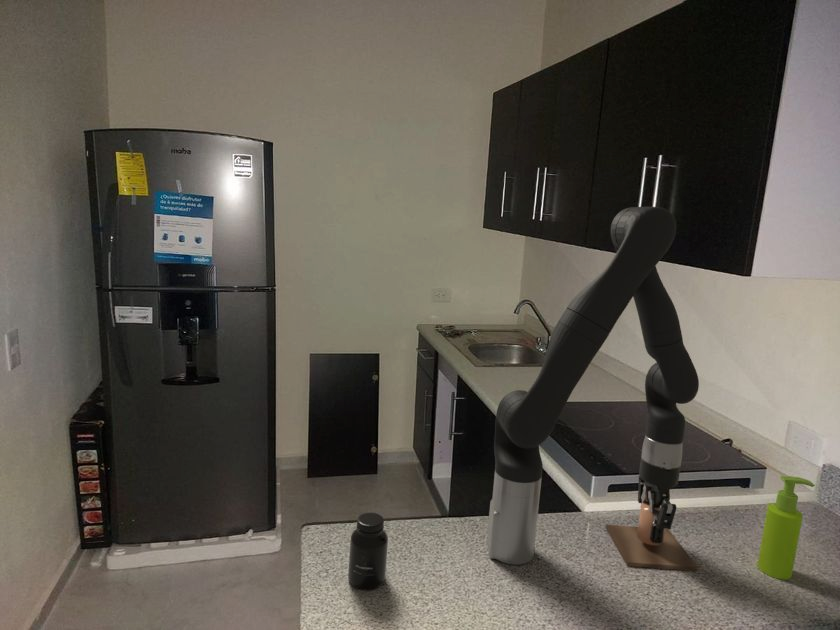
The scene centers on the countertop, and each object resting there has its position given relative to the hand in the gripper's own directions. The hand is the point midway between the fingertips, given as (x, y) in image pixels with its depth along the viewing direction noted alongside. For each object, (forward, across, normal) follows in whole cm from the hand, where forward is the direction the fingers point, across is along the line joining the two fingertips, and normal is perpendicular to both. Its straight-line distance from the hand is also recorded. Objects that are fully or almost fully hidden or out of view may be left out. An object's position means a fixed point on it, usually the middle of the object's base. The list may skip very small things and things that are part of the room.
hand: (650, 534), depth 116 cm
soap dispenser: (+3, +5, +24) cm, 25 cm away
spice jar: (+1, 0, 0) cm, 1 cm away
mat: (+3, 0, 0) cm, 3 cm away
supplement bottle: (+3, +17, -58) cm, 61 cm away
